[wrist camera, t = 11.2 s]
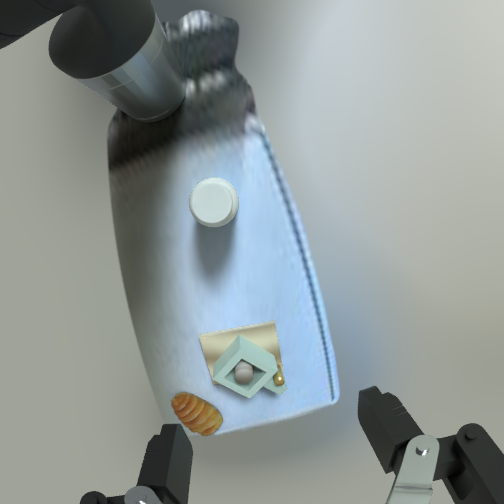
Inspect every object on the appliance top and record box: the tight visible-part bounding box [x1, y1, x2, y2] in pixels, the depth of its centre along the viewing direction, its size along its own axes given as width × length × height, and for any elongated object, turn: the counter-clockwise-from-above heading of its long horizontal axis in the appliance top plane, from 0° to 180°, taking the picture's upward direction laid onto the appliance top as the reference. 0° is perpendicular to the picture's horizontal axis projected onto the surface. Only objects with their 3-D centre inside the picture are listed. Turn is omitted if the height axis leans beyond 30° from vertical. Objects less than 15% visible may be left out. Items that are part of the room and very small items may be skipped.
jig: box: [199, 321, 283, 385], centre depth 38 cm, size 9×11×6 cm
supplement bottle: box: [189, 178, 239, 227], centre depth 31 cm, size 5×5×10 cm
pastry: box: [171, 392, 223, 436], centre depth 41 cm, size 9×7×4 cm
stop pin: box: [273, 364, 285, 386], centre depth 39 cm, size 1×1×4 cm
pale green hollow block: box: [213, 334, 287, 399], centre depth 38 cm, size 10×6×4 cm, turn 53°
